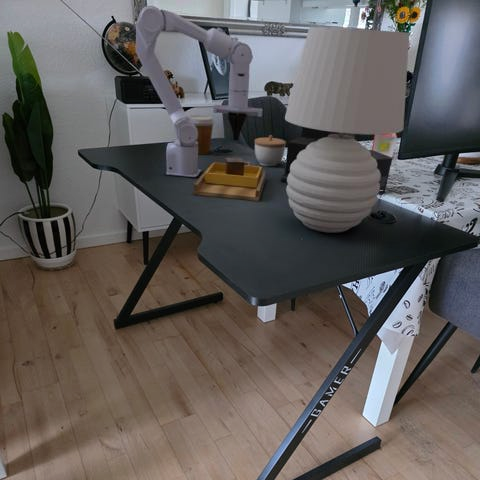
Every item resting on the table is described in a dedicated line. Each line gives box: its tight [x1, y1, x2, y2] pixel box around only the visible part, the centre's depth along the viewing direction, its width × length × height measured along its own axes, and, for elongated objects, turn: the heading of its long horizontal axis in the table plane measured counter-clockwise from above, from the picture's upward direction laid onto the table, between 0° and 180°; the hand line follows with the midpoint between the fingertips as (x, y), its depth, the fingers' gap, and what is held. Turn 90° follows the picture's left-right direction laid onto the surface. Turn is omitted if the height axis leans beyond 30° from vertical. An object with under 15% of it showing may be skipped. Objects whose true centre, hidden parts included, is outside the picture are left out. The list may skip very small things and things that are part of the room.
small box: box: [368, 149, 394, 195], centre depth 135 cm, size 11×6×10 cm, turn 23°
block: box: [225, 157, 246, 176], centre depth 132 cm, size 5×5×5 cm
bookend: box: [280, 126, 346, 183], centre depth 139 cm, size 23×11×24 cm, turn 149°
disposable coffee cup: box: [188, 114, 215, 155], centre depth 163 cm, size 10×10×12 cm
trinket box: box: [254, 134, 287, 167], centre depth 155 cm, size 11×11×9 cm
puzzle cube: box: [371, 133, 398, 158], centre depth 178 cm, size 8×8×8 cm
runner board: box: [193, 165, 267, 202], centre depth 131 cm, size 18×22×3 cm
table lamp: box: [284, 26, 410, 234], centre depth 99 cm, size 25×25×40 cm
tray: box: [204, 160, 263, 188], centre depth 135 cm, size 15×18×3 cm
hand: (236, 139), depth 138 cm, fingers closed
